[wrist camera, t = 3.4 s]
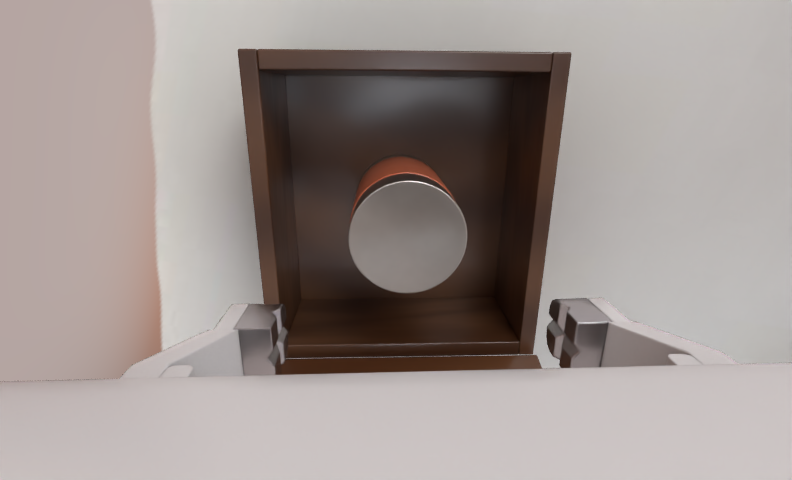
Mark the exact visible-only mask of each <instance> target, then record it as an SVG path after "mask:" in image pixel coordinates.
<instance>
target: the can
mask: <svg viewBox="0 0 792 480" xmlns="http://www.w3.org/2000/svg"><path fill="white" fill-rule="evenodd" d="M348 243H349V249H350V254H351V256H352V259H353V261H354V263H355V265H356V267H357V268H358V269H359V271H360V272H361V273H362V274H363V275H364V276H365V277H366V279H368V280H369V281H370V282H372V283H373V284H375V285H376V286H378V287H380V288H382V289H385V290H388V291H391V292H396V293H407V294H408V293H417V292H422V291H426V290H429V289H431V288H433V287H435V286H437V285H439V284H440V283H442V282H443V281H445V280H446V279H447V278H448V277H449V276H450V275H451V274H452V273H453V272H454V271H455V270H456V268H457V267H458V265H459V264H460V262H461V260H462V258H463V256H464V253H465V249H466V245H467V226H466V222H465V218H464V216H463V214H462V211H461V209H460V208H459V206H458V205H457V203H456V201H455V199H454V198H453V196H452V194H451V193H450V192H449V190H448V189H447V188H446V186H445V185H444V183H443V182H442V181H441V179H440V178H439V177H438V175H437V174H436V173H435V172H434V170H433V169H431V167H430V166H428V165H427V164H426V163H425V162H423V161H422V160H420V159H418V158H416V157H413V156H409V155H402V154H398V155H391V156H387V157H384V158H382V159H380V160H378V161H376V162H375V163H374V164H372V165H371V166H370V167H369V168H368V169H367V171H366V172H365V173H364V175H363V177H362V179H361V181H360V183H359V186H358V189H357V192H356V196H355V201H354V205H353V209H352V213H351V218H350V227H349V232H348Z"/></svg>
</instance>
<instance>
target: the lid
mask: <svg viewBox="0 0 792 480" xmlns="http://www.w3.org/2000/svg"><path fill="white" fill-rule="evenodd" d="M503 369H542V367H541V365H540V362H539V360H538V357H537V355H515V356H451V357H387V358H323V359H286V361H285V363H283V364H282V365H281V370H282V372H281V375H293V374H335V373H377V372H419V371H461V370H503Z"/></svg>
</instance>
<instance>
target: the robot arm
mask: <svg viewBox="0 0 792 480" xmlns="http://www.w3.org/2000/svg"><path fill="white" fill-rule="evenodd" d="M549 314H550V315H551V317H552V318H553V320H552V322H551V323H550V324H549V325H548V326H547V335H546V337H547V345H548V348H549V350H550V352H551V354H552V355H553V356H554V357H556V358H557V359H559V360H560V364H559V365H560V367H561V368H545V369H503V370H461V371H419V372H377V373H335V374H293V375H281V372H282V370H281V365H282V364H283V363H285V361H286V357H287V352H288V331H287V330H286V329H285V328H284V327H283V326H284V323H285V320H286V309H285V306H284V304H232V305H231V306H230V307H229V309H228V310H227V311H226V313H225V314H224V316H223V317H222V318H221V320H220V321H219V323H218V324H217V325H216V327H215V328H214V329H213V330H207V331H205V332H203V333H200V334H198V335H196V336H194V337H192V338H190V339H187V340H185V341H183V342H181V343H179V344H176V345H174V346H172V347H170V348H168V349H166V350H163V351H161V352H159V353H157V354H155V355H153V356H150V357H148V358H146V359H144V360H142V361H140V362H137V363H135V364H133V365H131V366H130V367H129V368H128V370H127V371H126V372H125V373H124V374H123V375H122V376H121V377H120V378H119V379H86V380H46V381H4V382H0V480H792V363H753V364H738V363H737V362H735V361H734V360H733V359H731V358H730V357H728V356H727V355H726V354H724V353H723V352H721V351H718V350H715V349H712V348H709V347H707V346H704V345H701V344H698V343H695V342H692V341H690V340H687V339H684V338H681V337H678V336H675V335H673V334H670V333H667V332H664V331H661V330H658V329H656V328H653V327H650V326H647V325H644V324H641V323H639V322H631V321H630V320H629V319H627V318H626V317H625V316H624V315H623V314H622V313H621V312H619V311H618V310H617V309H616V308H615V307H614V306H612V305H611V304H610V303H609V302H608V301H607V300H605V299H604V298H588V299H587V298H575V299H555V300H552V302H551V305H550V310H549Z"/></svg>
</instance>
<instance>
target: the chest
mask: <svg viewBox="0 0 792 480" xmlns="http://www.w3.org/2000/svg"><path fill="white" fill-rule="evenodd" d="M238 58H239V67H240V77H241V86H242V96H243V106H244V115H245V125H246V134H247V144H248V154H249V163H250V173H251V183H252V192H253V202H254V211H255V221H256V231H257V240H258V250H259V259H260V269H261V279H262V288H263V298H264V304H284V306H285V309H286V320H285V323H284V326H283V327H284V328H285V329H286V330H287V331H288V352H287V357H286V358H323V357H387V356H451V355H515V354H533V348H534V341H535V333H536V325H537V317H538V309H539V302H540V294H541V286H542V278H543V270H544V263H545V255H546V247H547V239H548V232H549V224H550V216H551V208H552V200H553V193H554V185H555V177H556V169H557V161H558V154H559V146H560V138H561V130H562V122H563V115H564V107H565V99H566V91H567V84H568V76H569V68H570V60H571V53H570V52H553V53H551V52H483V51H391V50H299V49H258V50H256V49H238ZM398 154H402V155H409V156H413V157H416V158H418V159H420V160H422V161H423V162H425V163H426V164H427V165H428V166H430V167H431V169H433V170H434V172H435V173H436V174H437V175H438V177H439V178H440V179H441V181H442V182H443V183H444V185H445V186H446V188H447V189H448V190H449V192H450V193H451V194H452V196H453V198H454V199H455V201H456V203H457V205H458V206H459V208H460V209H461V211H462V214H463V216H464V218H465V222H466V226H467V245H466V249H465V253H464V256H463V258H462V260H461V262H460V264H459V265H458V267H457V268H456V270H455V271H454V272H453V273H452V274H451V275H450V276H449V277H448V278H447V279H446V280H445V281H443V282H442V283H440V284H439V285H437V286H435V287H433V288H431V289H429V290H426V291H422V292H417V293H408V294H407V293H396V292H391V291H388V290H385V289H382V288H380V287H378V286H376V285H375V284H373V283H372V282H370V281H369V280H368V279H366V277H365V276H364V275H363V274H362V273H361V272H360V271H359V269H358V268H357V267H356V265H355V263H354V261H353V259H352V256H351V254H350V249H349V243H348V232H349V227H350V218H351V213H352V209H353V205H354V201H355V196H356V192H357V189H358V186H359V183H360V181H361V179H362V177H363V175H364V173H365V172H366V171H367V169H368V168H369V167H370V166H371V165H372V164H374V163H375V162H376V161H378V160H380V159H382V158H384V157H387V156H391V155H398Z"/></svg>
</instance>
